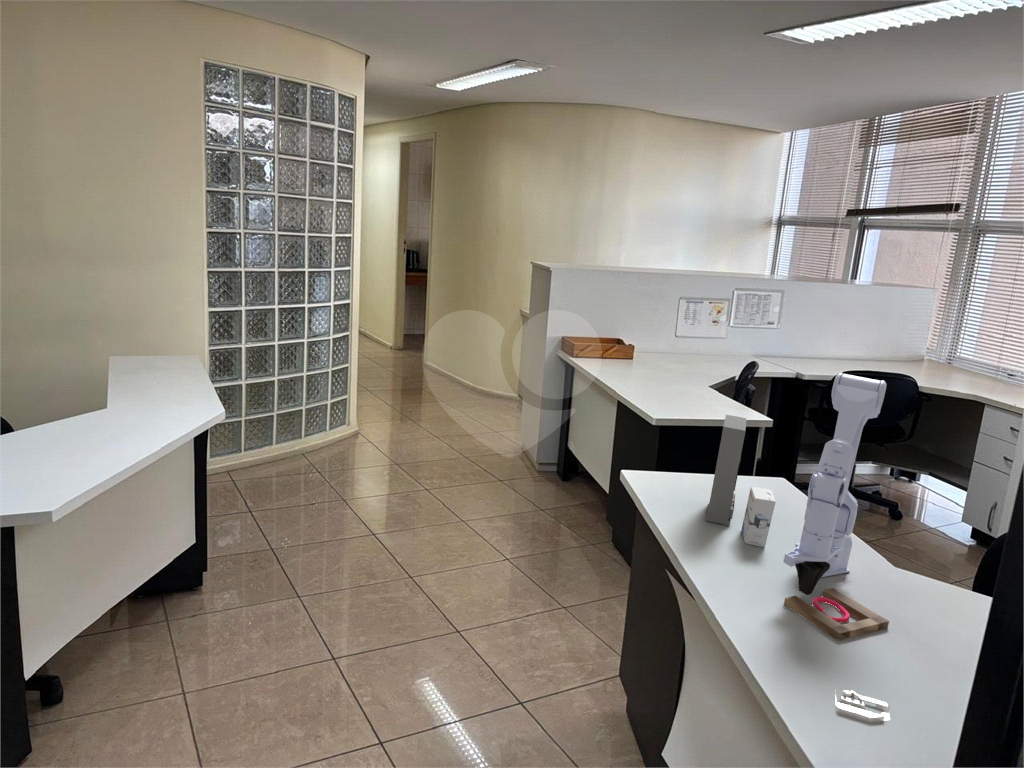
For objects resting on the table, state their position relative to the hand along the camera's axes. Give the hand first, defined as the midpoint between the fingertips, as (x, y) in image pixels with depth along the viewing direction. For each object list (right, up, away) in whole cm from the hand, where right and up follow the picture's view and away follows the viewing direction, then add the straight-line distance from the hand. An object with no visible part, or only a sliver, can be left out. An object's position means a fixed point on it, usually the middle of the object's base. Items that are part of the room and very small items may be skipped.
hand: (804, 592), depth 148 cm
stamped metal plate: (-5, -9, -34) cm, 35 cm away
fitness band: (+3, -3, -4) cm, 6 cm away
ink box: (-2, +5, +27) cm, 27 cm away
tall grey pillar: (-6, +9, +40) cm, 41 cm away
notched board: (+3, -3, -6) cm, 8 cm away
